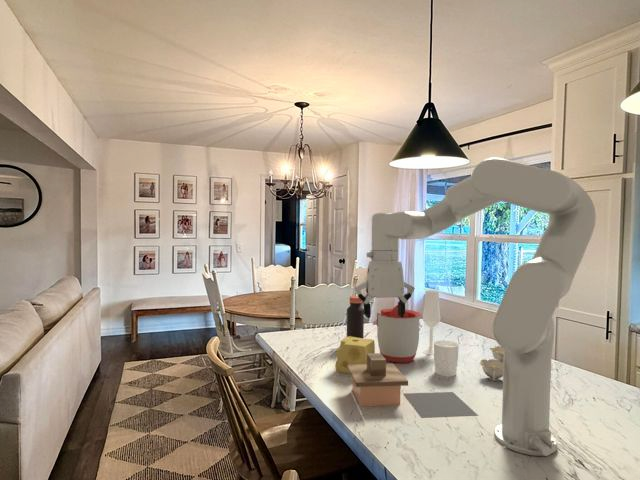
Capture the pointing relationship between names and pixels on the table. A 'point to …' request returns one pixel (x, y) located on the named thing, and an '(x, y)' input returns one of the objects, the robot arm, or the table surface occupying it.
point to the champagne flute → (431, 315)
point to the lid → (376, 373)
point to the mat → (439, 405)
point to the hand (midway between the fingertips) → (384, 316)
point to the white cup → (446, 357)
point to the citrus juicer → (398, 334)
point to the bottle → (355, 318)
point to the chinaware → (494, 364)
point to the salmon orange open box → (377, 395)
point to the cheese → (353, 352)
